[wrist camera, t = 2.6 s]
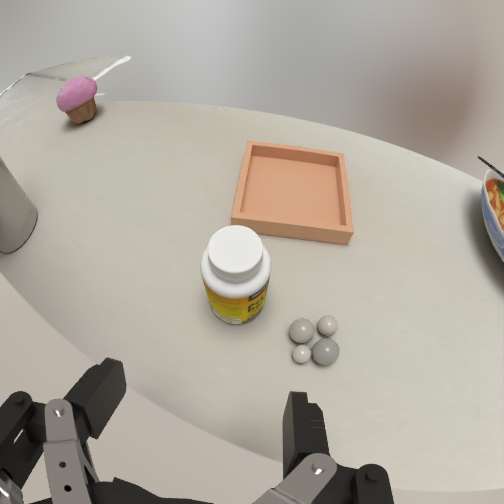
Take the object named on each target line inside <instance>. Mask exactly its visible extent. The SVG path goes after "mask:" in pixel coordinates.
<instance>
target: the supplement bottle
mask: <svg viewBox="0 0 504 504" xmlns="http://www.w3.org/2000/svg"><path fill="white" fill-rule="evenodd" d="M200 267H201V274H202V278H203V281H204V285H205V288H206V292H207V295H208V299H209V302H210V305H211V308H212V310H213V312H214V313H215V314H216V315H217V316H218V317H219V318H220V319H221V320H223V321H225V322H228V323H232V324H242V323H246V322H249V321H251V320H252V319H254V318H255V317H256V316H257V315H258V314H259V313H260V311H261V310H262V308H263V305H264V301H265V297H266V292H267V287H268V282H269V278H270V273H271V259H270V256H269V253H268V251H267V250H266V248H265V247H264V245H263V244H262V241H261V239H260V237H259V236H258V235H257V234H256V232H254V231H253V230H252V229H250V228H248V227H245V226H240V225H231V226H227V227H224V228H222V229H220V230H218V231H217V232H216V233H215V234H214V235H213V236H212V237H211V239H210V241H209V243H208V246H207V248H206V249H205V251H204V253H203V255H202V258H201V264H200Z"/></svg>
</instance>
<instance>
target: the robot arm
mask: <svg viewBox="0 0 504 504" xmlns="http://www.w3.org/2000/svg"><path fill="white" fill-rule="evenodd" d="M36 220H37V210H36V208H35V207H34V205H33V204H32V203H31V201H30V200H29V199H28V197H27V196H26V194H25V193H24V191H23V190H22V189H21V187H20V186H19V184H18V183H17V181H16V180H15V178H14V177H13V175H12V174H11V172H10V171H9V169H8V168H7V166H6V165H5V163H4V162H3V160H2V158H1V157H0V251H1V252H3V253H10V252H13V251H15V250H16V249H18V248H19V247H20V246H21V245H22V244H23V243H24V242H25V241H26V240H27V239H28V237H29V236H30V234H31V232H32V231H33V228H34V226H35V223H36ZM125 392H126V380H125V374H124V369H123V364H122V362H121V361H118V360H115V359H111V358H106V359H105V360H104V361H103V362H102V363H101V364H100V365H98V364H96V365H94V366H93V367H91V368H89V369H88V370H87V371H86V372H85V374H84V375H83V376H82V377H81V378H80V379H79V381H78V382H77V383H76V384H75V385H74V386H73V387H72V389H71V390H70V391H69V392H68V393H67V395H66V396H65V397H64V398H63V399H54V400H51V401H50V402H48V403H47V404H43V403H38V402H33V401H32V398H31V396H30V395H29V394H28V393H26V392H23V391H18V392H15V393H13V394H11V395H10V396H9V398H8V399H7V400H6V401H5V402H4V403H3V404H2V406H1V407H0V504H24V502H23V495H22V492H21V489H22V487H23V485H24V484H25V482H26V480H27V479H28V477H29V475H30V473H31V472H32V470H33V468H34V467H35V465H36V463H37V461H38V460H39V458H40V457H41V455H42V453H43V452H44V457H45V464H46V471H47V477H48V482H49V488H50V492H51V498H47V499H44V500H41V501H37V502H34V503H30V504H213V503H207V502H201V501H196V500H192V499H178V498H161V497H158V496H156V495H154V494H152V493H150V492H149V491H147V490H145V489H143V488H141V487H140V486H138V485H135V484H132V483H129V482H127V481H124V480H121V479H118V478H116V477H114V480H113V482H100V481H99V479H98V477H97V475H96V472H95V469H94V465H93V462H92V458H91V455H90V451H89V447H88V443H87V439H88V437H89V436H90V437H92V438H95V439H98V437H99V436H100V434H101V432H102V431H103V429H104V427H105V426H106V424H107V422H108V421H109V419H110V417H111V416H112V414H113V413H114V411H115V409H116V408H117V406H118V405H119V403H120V401H121V400H122V398H123V397H124V395H125ZM21 430H23V432H22V433H21V435H20V436H19V437H18V439H17V440H16V442H15V443H14V440H15V438H16V437H17V435H18V434H19V433H20V431H21ZM252 504H394V501H393V496H392V491H391V486H390V482H389V477H388V473H387V471H386V470H385V469H384V468H383V467H381V466H379V465H376V464H366V465H364V466H362V467H360V468H359V469H354V468H349V467H344V466H341V465H339V464H337V463H336V462H335V460H334V459H333V458H332V457H331V456H330V453H329V448H328V442H327V436H326V430H325V424H324V418H323V413H322V410H321V409H320V407H319V406H318V405H317V403H308V398H307V393H306V392H293V391H290V393H289V396H288V400H287V404H286V408H285V411H284V416H283V481H282V482H281V483H280V484H279V485H277V486H276V487H275V488H271V489H269V490H268V491H267V492H265V493H264V494H263V495H262V496H261V497H260V498H258V499H257V500H256V501H255V502H254V503H252Z"/></svg>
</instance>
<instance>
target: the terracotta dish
mask: <svg viewBox="0 0 504 504" xmlns="http://www.w3.org/2000/svg"><path fill="white" fill-rule="evenodd" d="M231 222H232V225H240V226H245V227H248V228H250V229H252V230H253V231H254V232H256V234H263V235H271V236H280V237H288V238H296V239H304V240H312V241H320V242H328V243H336V244H344V245H347V244H348V242H349V240H350V238H351V237H352V235H353V233H354V231H353V221H352V212H351V203H350V195H349V188H348V180H347V174H346V167H345V161H344V155H343V154H340V153H335V152H329V151H323V150H317V149H310V148H303V147H296V146H289V145H281V144H272V143H263V142H253V141H247V145H246V150H245V154H244V159H243V164H242V168H241V173H240V178H239V182H238V187H237V192H236V197H235V201H234V206H233V211H232V216H231Z"/></svg>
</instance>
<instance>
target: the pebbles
mask: <svg viewBox="0 0 504 504" xmlns="http://www.w3.org/2000/svg"><path fill="white" fill-rule="evenodd" d="M318 329H319V331H320V333H322V334H323V335H326V336H329V335H332V334H334V333H335V332H336V331H337V329H338V322H337V320H336V319H335V318H334V317H333V316H324V317H322V318H321V319H320V321H319V323H318ZM314 333H315V328H314V325H313V323H312V322H311V321H309V320H308V319H304V318H301V319H297V320H295V321H294V322H293V323H292V324H291V326H290V336H291V338H292V339H293V340H294V341H295V342H298V343H306V342H308V341H310V340H311V339H312V338H313V336H314ZM311 355H313V358H314V360H315V361H316V362H317V363H319V364H322V365H329V364H332V363H333V362H335V361H336V359H337V358H338V356H339V346H338V344H337V343H336V342H335V341H334V340H332V339H330V338H323V339H320V340H319V341H317V342H316V343H315V345H314V346H313V349H312V352H311V349H310V348H309V347H308V346H307V345H298V346H297V347H295V348H294V350H293V358H294V360H295V361H296V362H298V363H305V362H307V361H309V359H310V358H311Z"/></svg>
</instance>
